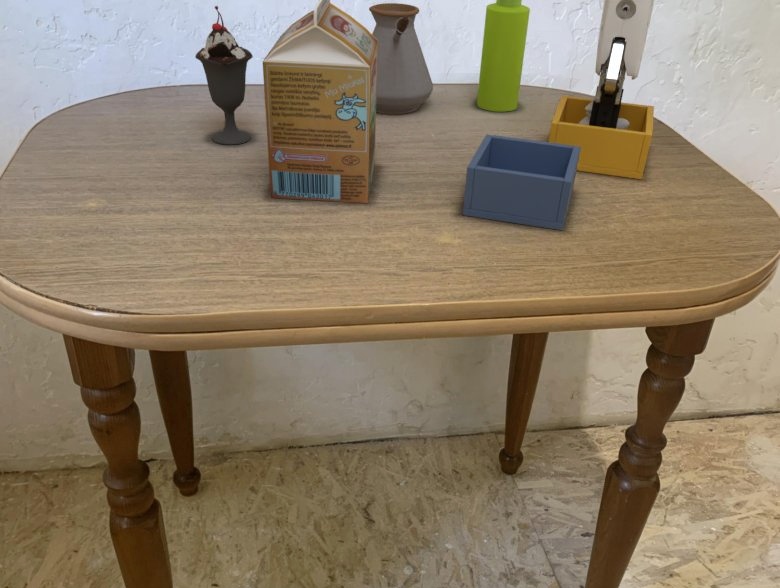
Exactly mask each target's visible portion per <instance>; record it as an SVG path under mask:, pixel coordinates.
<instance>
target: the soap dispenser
mask: <svg viewBox="0 0 780 588" xmlns="http://www.w3.org/2000/svg"><path fill="white" fill-rule="evenodd" d="M522 1H523V0H495V2H493V3H489V4H487V5H486V6H485V7H486V8H485V9H486V10H485V20H484V28H483V30H484V31H483V37H482V48H481V57H480V69H479V77H478V87H477V88H478V89H477V98H476V106H477V107H478V108H479V109H482V110H485V111H490V112H496V113H505V112H506V113H507V112H513V111H515V110H517V108H518V103H519V96H520V87H521V82H522V81H521V79H522V73H523V66H524V59H525V57H524V56H525V50H526V44H527V43H526V42H527V36H528V29H529V19H530V14H531V13H530V11H531V8H530V7H528V6H526V5H523V4H522Z"/></svg>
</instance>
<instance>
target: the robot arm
mask: <svg viewBox="0 0 780 588" xmlns="http://www.w3.org/2000/svg"><path fill="white" fill-rule="evenodd" d="M654 4H655V0H604V2H603V8H602V13H601V20H600V25H599V32H598V39H597V41H598V42H597V48H596V60H595V71H594V72H595V73H596V74H597V76H599V81H598V85H597V86H596V91H595V95H596V94H597V95H596V100H594V101H593V106H592V111H591V116H590V121H589V125H590V126H598V127H606V128H614V129H616V126H617V122H618V117H619V112H620V107H621V102H622V100H623V95H624V91H625V89H624V88H623V87H624V82H625V78H626V76H627V77H631V80H632V81H633V80H635V79H637V78H638V77H639V73H640V69H641V64H642V59H643V55H644V51H645V45H646V42H647V38H648V32H649V28H650V23H651V19H652V14H653V8H654ZM600 99H601V100H600Z"/></svg>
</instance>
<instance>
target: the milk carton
mask: <svg viewBox="0 0 780 588" xmlns="http://www.w3.org/2000/svg"><path fill="white" fill-rule="evenodd" d="M377 49H378V41H377V40H376V38H375V37H374V36H373V35H372V33H371V32H370V30H368V28H367V27H366V26H364V25H363V24H362V23H360V22H359V21H357V20H356V19H355V18H354V17H353V16H352V15H350V14H349V13H346V12H345V11H344V10H342V9H341V8H340V7H337V6H336V5H334V4H333V3H331V0H318V1H317V3H316V4H315V6H314V7H313V10H311V11H309V12H308V13H306V14H304V16H302V17H300V18H299V19H297V20H296V21H295V22H292V24H291V25H290V26H288V28H287V29H286V30H285V31H284V32H283V33H282V34H281V35H280V36H279V38H278V39H277V41H276V42H275V43H274V45H273V46H272V47H271V49H270V50H269V52H268V53H267V54H266V56H265V57H264V59H263V60H262V75H263V91H264V107H265V125H266V138H267V139H266V140H267V142H266V143H267V156H268V157H267V158H268V172H269V173H268V174H269V188H270V199H286V200H301V201H303V200H304V201H320V202H321V201H323V202H339V203H356V204H357V203H358V204H368V203H369V199H370V195H371V194H370V193H371V187H372V184H373V183H372V182H373V179H374V178H373V177H374V173H375V167H376V133H377V131H376V130H377V128H376V127H377V112H376V91H377Z"/></svg>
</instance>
